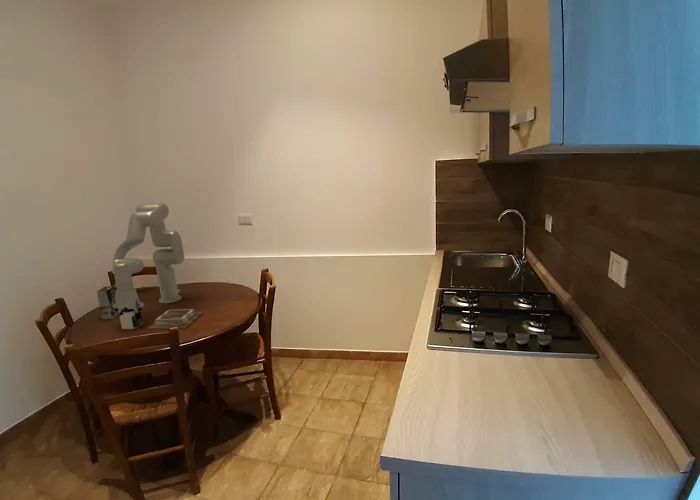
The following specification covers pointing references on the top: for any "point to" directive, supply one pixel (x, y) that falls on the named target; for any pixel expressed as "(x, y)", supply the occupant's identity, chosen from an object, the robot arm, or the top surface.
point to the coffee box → (107, 302)
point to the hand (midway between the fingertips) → (131, 319)
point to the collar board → (175, 319)
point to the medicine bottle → (129, 319)
